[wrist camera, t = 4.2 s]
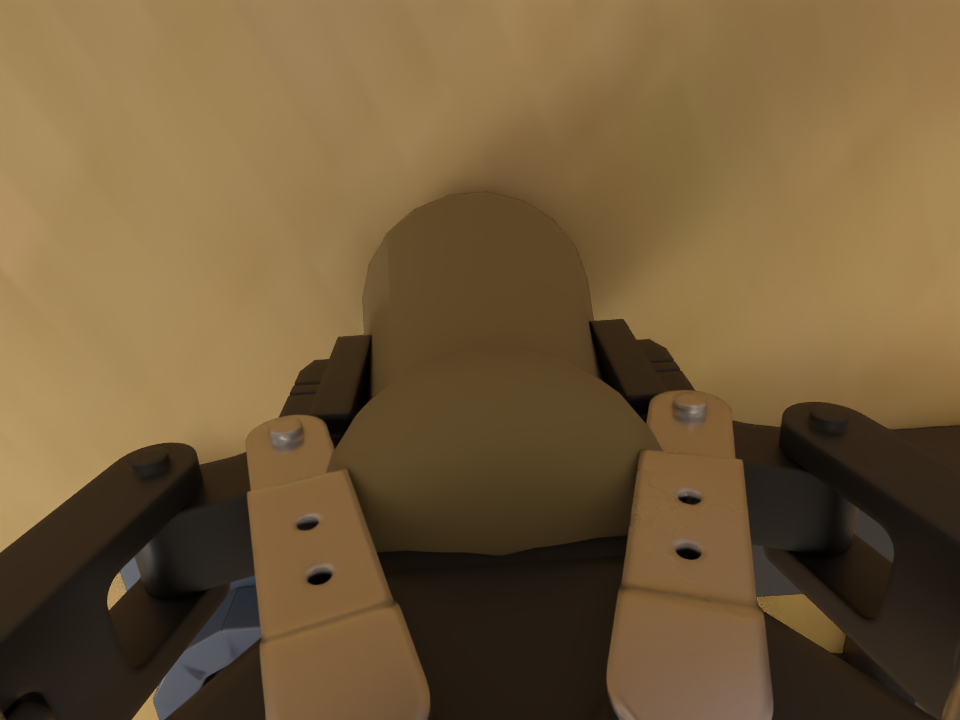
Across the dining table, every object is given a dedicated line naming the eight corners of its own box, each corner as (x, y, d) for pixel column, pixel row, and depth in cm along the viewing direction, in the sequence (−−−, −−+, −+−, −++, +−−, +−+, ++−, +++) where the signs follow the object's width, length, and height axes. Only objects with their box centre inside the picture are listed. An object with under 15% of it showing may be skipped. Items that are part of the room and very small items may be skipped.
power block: (136, 490, 23) (76, 574, 19) (409, 473, 23) (400, 552, 19) (212, 741, 28) (176, 845, 24) (437, 726, 28) (434, 828, 24)
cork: (626, 338, 19) (821, 666, 9) (441, 439, 20) (431, 830, 10) (518, 144, 17) (618, 293, 7) (316, 270, 18) (145, 558, 8)
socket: (589, 448, 23) (616, 524, 19) (980, 423, 23) (1080, 493, 19) (585, 724, 28) (605, 824, 24) (903, 702, 28) (970, 799, 24)
